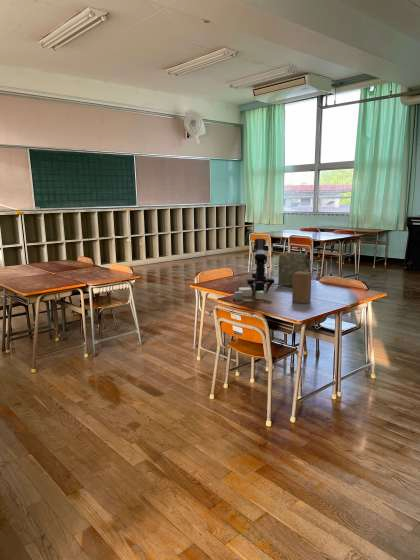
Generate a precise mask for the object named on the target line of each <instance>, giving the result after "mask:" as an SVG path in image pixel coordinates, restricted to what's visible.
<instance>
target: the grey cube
mask: <svg viewBox="0 0 420 560" xmlns="http://www.w3.org/2000/svg"><path fill="white" fill-rule="evenodd" d="M233 297H234V298H235V299H234V300H235V301H243V300H244V297H243V293H242V291H239V290H237V291H234V295H233Z"/></svg>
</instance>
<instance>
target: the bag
mask: <svg viewBox="0 0 420 560" xmlns="http://www.w3.org/2000/svg"><path fill="white" fill-rule="evenodd" d="M279 253H280V254H279V257H278V277H277V279H278V280H277V281H278V283H277V285H278V286H280V287H281V286H283V287H290V288H293V273H296V272H298V271H302V272H311V263H310V262H311V261H310V255H309V254H308V253H305V252H295V251H292V252H289V251H285V252H279Z"/></svg>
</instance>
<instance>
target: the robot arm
mask: <svg viewBox="0 0 420 560" xmlns="http://www.w3.org/2000/svg"><path fill="white" fill-rule="evenodd" d="M253 243H254V246H255V249H256V251H255V255H254V264H255V273H251V278H246V280H245V283H246V284H247V285H248V286H250V288H251V290H252V291H251V293H252V294H253V295H254V294H255V293H256V291H263V292H264V293H266V294H268V291H269V289H270V287H271V286H272V285H273V284H275V280H274V279H273V278H270V277H269V278H268V277H266V273H265V271H266V268H265V265H266V264H267V263H268V256H267V255H266V252H265V251H264V249H265V247H266V245H267V239H265V238H261V237H259V238H255V239H254V242H253ZM265 285H266V286H265ZM265 287H266V288H265Z"/></svg>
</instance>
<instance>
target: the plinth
mask: <svg viewBox="0 0 420 560" xmlns="http://www.w3.org/2000/svg"><path fill="white" fill-rule="evenodd" d="M238 291H242V293H243V296H244V297H252V289H251V286H250V287H248V286H247V287H238Z"/></svg>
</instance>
